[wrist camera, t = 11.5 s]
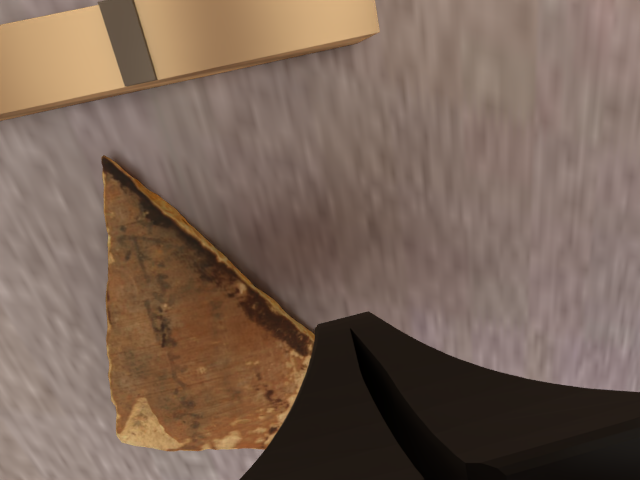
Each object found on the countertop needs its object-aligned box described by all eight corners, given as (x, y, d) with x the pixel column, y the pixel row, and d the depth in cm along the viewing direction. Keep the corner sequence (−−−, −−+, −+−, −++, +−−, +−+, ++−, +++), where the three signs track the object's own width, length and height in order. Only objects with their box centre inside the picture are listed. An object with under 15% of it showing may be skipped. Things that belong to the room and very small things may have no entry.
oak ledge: (344, -23, 15) (369, -53, 12) (383, 201, 18) (413, 224, 15) (-360, 123, 14) (-538, 130, 11) (-219, 348, 16) (-330, 408, 13)
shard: (113, 150, 16) (97, 156, 15) (334, 166, 18) (343, 173, 16) (119, 425, 19) (107, 457, 18) (309, 422, 21) (314, 451, 19)
